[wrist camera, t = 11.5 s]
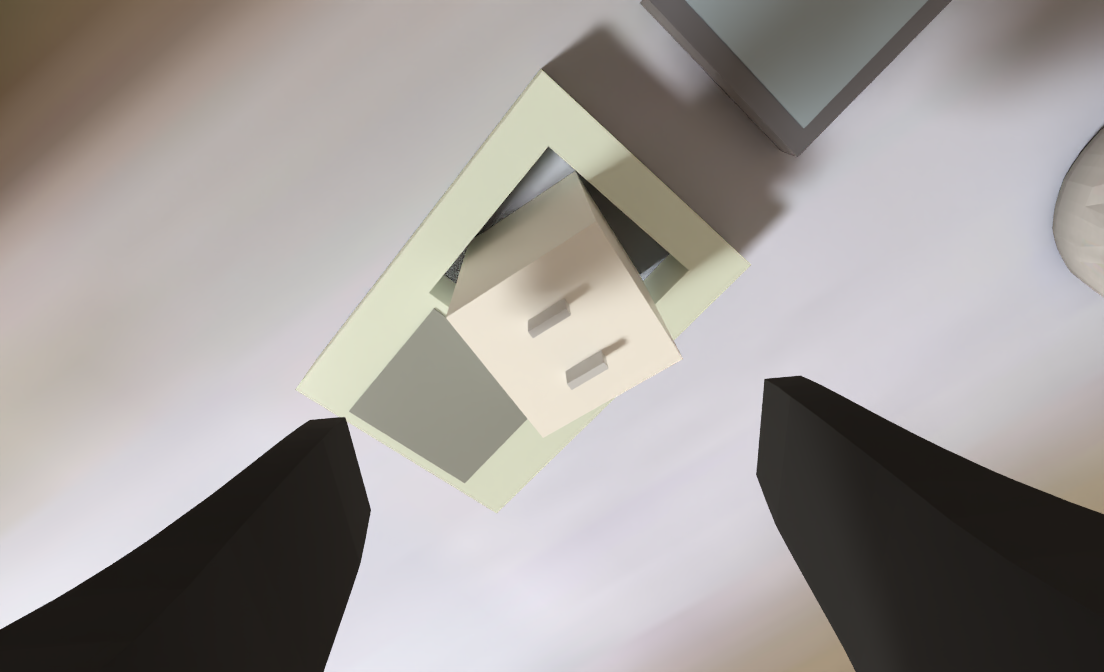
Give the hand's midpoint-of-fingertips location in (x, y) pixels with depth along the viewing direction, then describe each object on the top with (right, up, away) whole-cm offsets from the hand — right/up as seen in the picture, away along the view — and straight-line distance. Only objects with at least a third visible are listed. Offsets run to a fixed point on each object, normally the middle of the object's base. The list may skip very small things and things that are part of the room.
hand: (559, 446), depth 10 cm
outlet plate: (-1, +3, +9) cm, 10 cm away
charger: (0, +4, +9) cm, 10 cm away
